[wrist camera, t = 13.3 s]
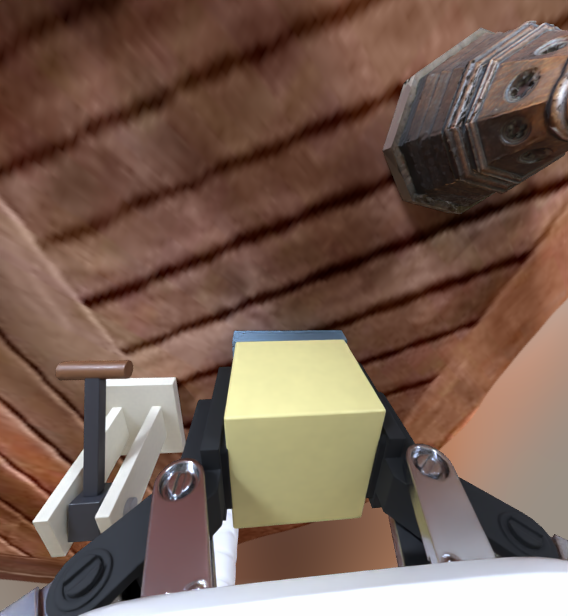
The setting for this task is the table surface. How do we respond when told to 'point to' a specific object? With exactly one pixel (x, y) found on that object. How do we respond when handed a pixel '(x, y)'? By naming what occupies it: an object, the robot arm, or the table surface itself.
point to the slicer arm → (91, 441)
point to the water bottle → (226, 552)
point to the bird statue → (481, 118)
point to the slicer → (120, 441)
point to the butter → (299, 432)
